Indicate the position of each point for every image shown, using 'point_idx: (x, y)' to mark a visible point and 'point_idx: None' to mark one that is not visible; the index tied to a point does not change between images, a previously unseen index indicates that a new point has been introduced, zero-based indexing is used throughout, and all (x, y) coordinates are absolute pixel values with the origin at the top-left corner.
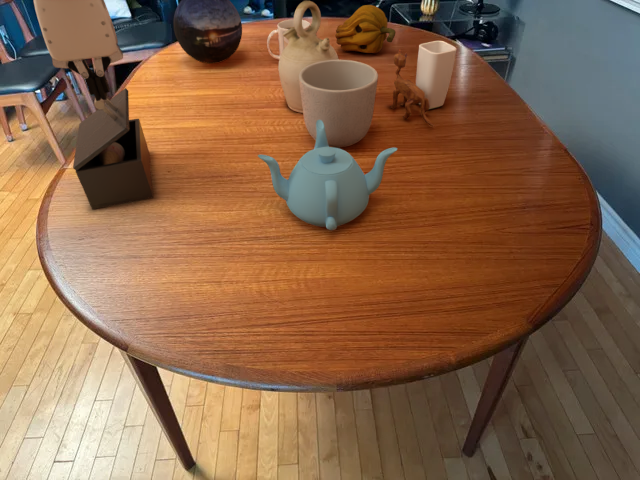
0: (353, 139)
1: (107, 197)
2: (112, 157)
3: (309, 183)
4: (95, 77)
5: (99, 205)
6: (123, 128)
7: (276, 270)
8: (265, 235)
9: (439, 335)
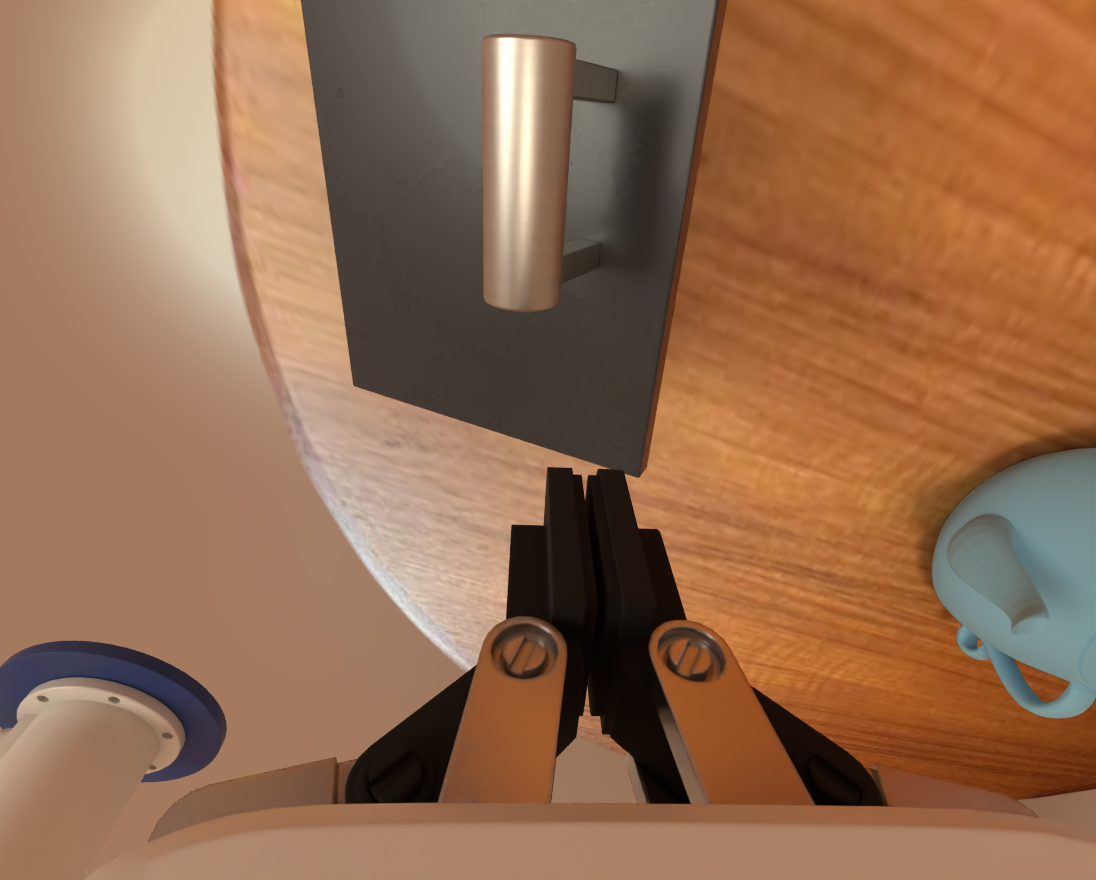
0: None
1: None
2: None
3: (1039, 661)
4: (603, 731)
5: None
6: (624, 463)
7: (793, 651)
8: (829, 569)
9: None
